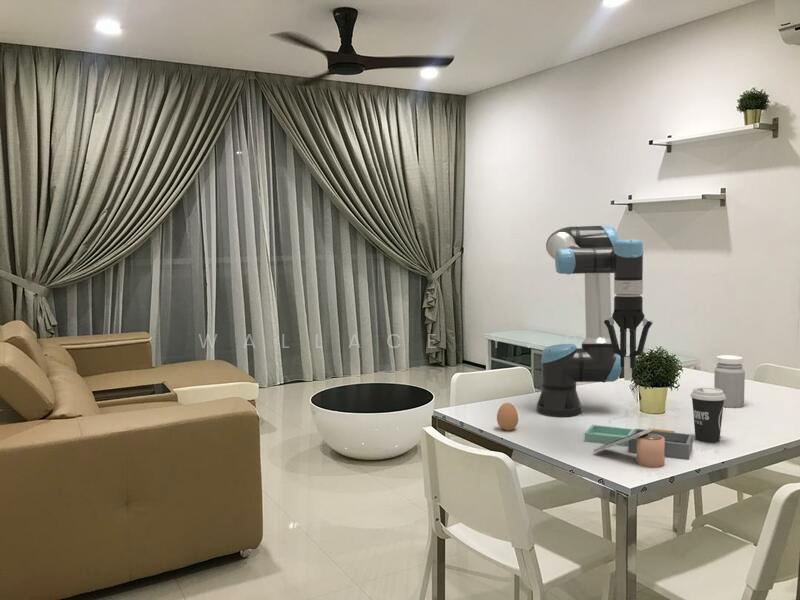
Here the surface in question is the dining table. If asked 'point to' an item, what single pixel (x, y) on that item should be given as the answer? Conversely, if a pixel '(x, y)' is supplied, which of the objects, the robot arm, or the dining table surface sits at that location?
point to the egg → (507, 416)
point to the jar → (730, 380)
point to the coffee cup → (707, 413)
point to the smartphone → (622, 440)
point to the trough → (607, 434)
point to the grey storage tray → (669, 443)
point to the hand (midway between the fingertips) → (627, 379)
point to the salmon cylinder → (650, 450)
